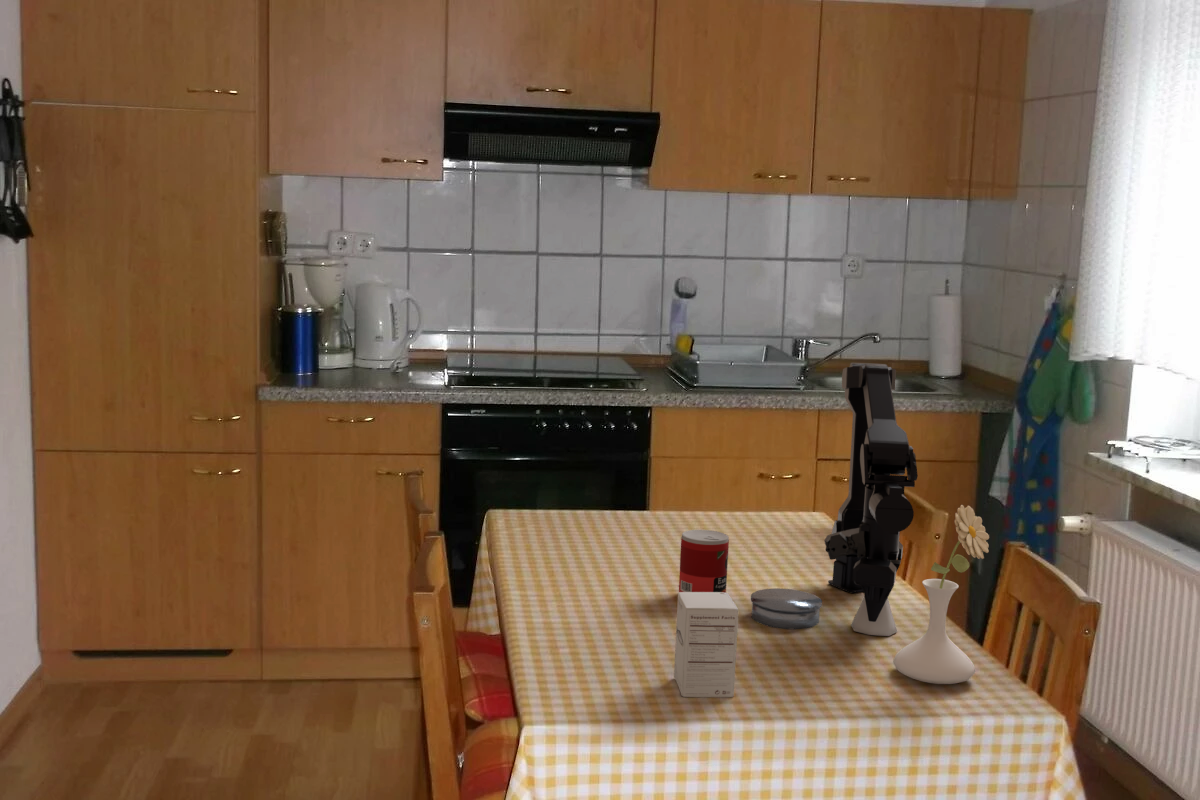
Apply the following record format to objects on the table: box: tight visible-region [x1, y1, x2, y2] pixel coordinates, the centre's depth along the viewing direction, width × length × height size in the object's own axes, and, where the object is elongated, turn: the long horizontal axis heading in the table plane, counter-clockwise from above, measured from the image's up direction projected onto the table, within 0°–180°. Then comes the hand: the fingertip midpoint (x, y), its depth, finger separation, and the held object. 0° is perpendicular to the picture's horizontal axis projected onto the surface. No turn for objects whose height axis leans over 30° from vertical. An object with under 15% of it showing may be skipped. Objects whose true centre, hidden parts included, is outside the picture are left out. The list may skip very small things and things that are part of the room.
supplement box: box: [673, 591, 739, 698], centre depth 177 cm, size 7×7×13 cm
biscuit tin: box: [750, 587, 823, 630], centre depth 210 cm, size 11×11×4 cm
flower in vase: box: [892, 504, 990, 685], centre depth 184 cm, size 13×11×25 cm
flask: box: [850, 595, 898, 637], centre depth 205 cm, size 7×7×10 cm
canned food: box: [678, 529, 730, 593], centre depth 218 cm, size 8×8×11 cm
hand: (874, 612), depth 206 cm, fingers open, 9 cm apart
